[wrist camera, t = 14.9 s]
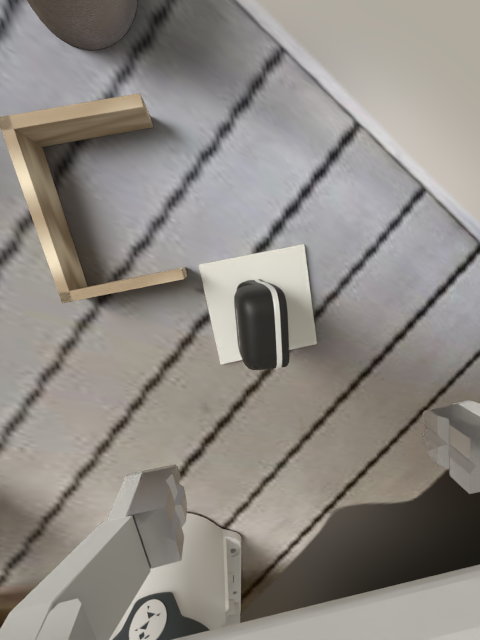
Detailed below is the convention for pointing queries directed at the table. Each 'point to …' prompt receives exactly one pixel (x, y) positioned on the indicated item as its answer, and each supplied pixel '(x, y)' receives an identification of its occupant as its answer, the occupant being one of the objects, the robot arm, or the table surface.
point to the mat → (271, 267)
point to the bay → (40, 193)
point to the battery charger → (262, 325)
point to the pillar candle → (86, 20)
